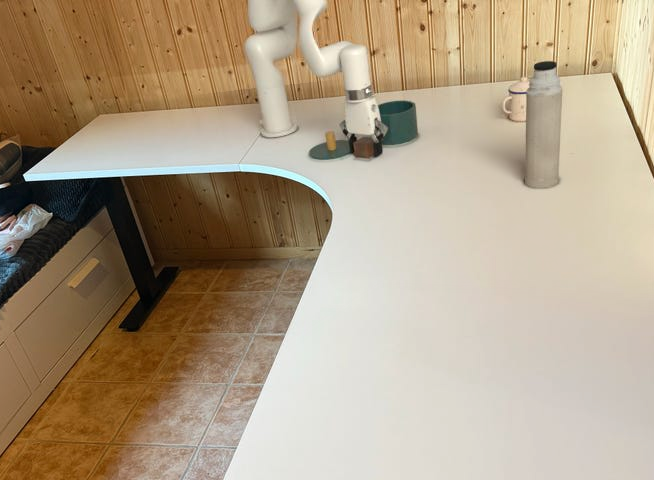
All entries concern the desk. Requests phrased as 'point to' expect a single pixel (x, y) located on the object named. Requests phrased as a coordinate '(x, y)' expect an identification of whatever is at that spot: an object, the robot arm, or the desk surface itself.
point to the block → (364, 147)
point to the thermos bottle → (543, 126)
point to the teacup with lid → (517, 100)
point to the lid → (330, 148)
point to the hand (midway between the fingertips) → (366, 152)
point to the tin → (398, 121)
